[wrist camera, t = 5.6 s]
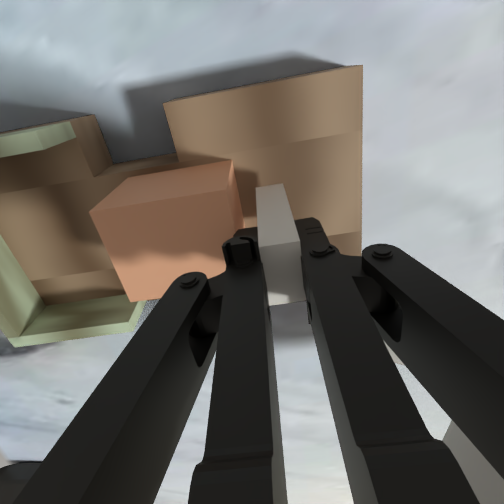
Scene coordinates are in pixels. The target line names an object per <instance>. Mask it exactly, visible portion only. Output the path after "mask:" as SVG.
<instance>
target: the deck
mask: <svg viewBox="0 0 504 504" xmlns="http://www.w3.org/2000/svg"><path fill="white" fill-rule="evenodd" d="M163 107H164V110H165V114H166V117H167V121H168V124H169V128H170V132H171V135H172V139H173V142H174V146H175V149H176V153H172V154H166V155H160V156H155V157H149V158H144V159H138V160H132V161H127V162H121V163H116V164H113V161H112V158H111V156H110V153H109V151H108V148H107V146H106V143H105V140H104V138H103V135H102V133H101V130H100V128H99V125H98V122H97V120H96V117H95V115H88V116H83V117H78V118H73V119H68V120H62V121H57V122H52V123H47V124H42V125H36V126H31V127H26V128H21V129H16V130H10V131H5V132H0V329H1V330H2V332H3V333H4V334H5V336H6V337H7V338H8V340H9V341H10V342H11V343H12V345H13V346H14V347H21V346H28V345H36V344H43V343H50V342H58V341H65V340H73V339H80V338H88V337H95V336H102V335H110V334H117V333H125V332H132V331H134V328H135V326H136V324H137V322H138V319H139V317H140V315H141V313H142V310H143V308H144V306H145V304H146V302H147V301H149V300H144V301H136V302H130V300H129V298H128V296H127V294H126V292H125V290H124V287H123V285H122V283H121V281H120V279H119V276H118V274H117V272H116V270H115V268H114V266H113V263H112V261H111V259H110V257H109V255H108V253H107V250H106V248H105V246H104V244H103V242H102V240H101V237H100V235H99V233H98V231H97V229H96V227H95V224H94V222H93V220H92V218H91V216H90V214H89V211H90V210H91V209H93V208H94V207H95V206H96V205H97V204H98V203H99V202H101V201H102V200H103V199H104V198H105V197H106V196H107V195H109V194H110V193H111V192H112V191H113V190H114V189H115V188H117V187H118V186H119V185H120V184H121V183H122V182H123V181H124V180H126V179H127V178H128V177H134V176H139V175H145V174H151V173H157V172H163V171H169V170H175V169H180V168H186V167H192V166H198V165H204V164H210V163H216V162H221V161H227V160H232V162H233V167H234V172H235V178H236V183H237V188H238V193H239V198H240V203H241V208H242V213H243V219H244V224H245V228H250V227H257V207H256V188H257V187H263V186H269V185H276V184H282V183H283V185H284V189H285V192H286V195H287V199H288V202H289V206H290V209H291V212H292V216H293V219H294V220H297V219H303V218H310V217H314V218H315V219H317V220H319V221H320V223H321V225H322V227H323V229H324V232H325V234H326V236H327V238H328V240H329V242H330V244H332V245H334V246H336V247H337V248H338V250H339V252H340V254H344V255H349V256H361V243H362V110H363V65H353V66H343V67H338V68H333V69H327V70H322V71H317V72H312V73H307V74H301V75H296V76H291V77H286V78H281V79H275V80H270V81H265V82H260V83H255V84H249V85H244V86H239V87H234V88H229V89H223V90H218V91H213V92H208V93H203V94H197V95H192V96H187V97H182V98H177V99H173V100H170V101H168V102H165V103H163ZM158 299H161V298H158ZM151 300H156V299H151Z"/></svg>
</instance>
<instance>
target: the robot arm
mask: <svg viewBox="0 0 504 504" xmlns="http://www.w3.org/2000/svg"><path fill="white" fill-rule="evenodd" d="M256 207H257V227H250V228H244V229H238V230H237V231H236V233H235V234H234V235H233V238H231V239H228V240H227V241H225V242H224V243H223V245H222V251H223V255H224V259H225V263H226V271H225V272H223V273H221V274H219V275H217V276H215V277H212V278H209V279H207V276H206V274H204V273H202V272H188V273H185V274H183V275H181V276H179V277H178V278H176V279H175V280H174V281H173V282H172V284H171V285H170V286H169V288H168V289H167V291H166V292H165V293H164V295H163V296H162V297H161V299H160V300H159V302H158V303H157V304H156V306H155V307H154V308H153V310H152V311H151V313H150V314H149V315H148V317H147V318H146V320H145V321H144V322H143V324H142V325H141V326H140V328H139V329H138V331H137V332H136V333H135V335H134V336H133V337H132V339H131V340H130V342H129V343H128V344H127V346H126V347H125V349H124V350H123V351H122V353H121V354H120V355H119V357H118V358H117V360H116V361H115V362H114V364H113V365H112V366H111V368H110V369H109V371H108V372H107V373H106V375H105V376H104V378H103V379H102V380H101V382H100V383H99V384H98V386H97V387H96V389H95V390H94V391H93V393H92V394H91V395H90V397H89V398H88V400H87V401H86V402H85V404H84V405H83V407H82V408H81V409H80V411H79V412H78V413H77V415H76V416H75V418H74V419H73V420H72V422H71V423H70V424H69V426H68V427H67V429H66V430H65V431H64V433H63V434H62V436H61V437H60V438H59V440H58V441H57V442H56V444H55V445H54V447H53V448H52V449H51V451H50V452H49V453H48V455H47V456H46V458H45V459H44V460H43V462H42V463H19V464H13V465H8V466H5V467H2V468H0V504H153V503H154V500H155V498H156V496H157V493H158V491H159V488H160V486H161V483H162V481H163V479H164V476H165V474H166V471H167V469H168V466H169V464H170V461H171V459H172V457H173V454H174V452H175V449H176V447H177V444H178V442H179V440H180V437H181V435H182V432H183V430H184V427H185V425H186V422H187V420H188V418H189V415H190V413H191V410H192V408H193V405H194V403H195V401H196V398H197V396H198V393H199V391H200V388H201V386H202V383H203V381H204V379H205V376H206V374H207V371H208V369H209V366H210V364H211V362H212V359H213V357H214V354H215V352H216V358H215V367H214V375H213V384H212V392H211V401H210V410H209V418H208V427H207V436H206V444H205V452H204V457H203V460H202V462H200V463H199V464H197V465H196V467H195V469H194V472H193V475H192V480H191V485H190V492H189V499H188V504H288V502H287V490H286V479H285V468H284V457H283V446H282V435H281V424H280V413H279V402H278V391H277V380H276V368H275V357H274V346H273V335H272V324H271V314H270V308H269V306H271V305H279V304H286V303H293V302H301V301H306V300H307V310H308V320H309V324H311V326H312V330H313V335H314V339H315V343H316V347H317V351H318V355H319V360H320V364H321V368H322V372H323V376H324V380H325V384H326V389H327V393H328V397H329V401H330V405H331V409H332V414H333V418H334V422H335V426H336V430H337V434H338V439H339V443H340V447H341V451H342V455H343V459H344V464H345V468H346V472H347V476H348V480H349V484H350V489H351V493H352V497H353V501H354V504H480V503H479V501H478V499H477V497H476V495H475V493H474V491H473V490H472V488H471V486H470V484H469V482H468V480H467V478H466V476H465V474H464V473H463V471H462V469H461V467H460V465H459V463H458V461H457V460H456V458H455V457H454V455H453V453H452V452H451V450H450V448H449V447H448V446H447V445H446V444H445V443H444V442H443V441H441V440H437V439H434V438H433V437H432V436H431V435H430V433H429V431H428V430H427V428H426V426H425V424H424V422H423V420H422V418H421V416H420V414H419V412H418V410H417V408H416V406H415V404H414V402H413V400H412V398H411V396H410V394H409V392H408V390H407V387H406V385H405V383H404V381H403V379H402V377H401V375H400V373H399V371H398V369H397V367H396V365H395V363H394V361H393V359H392V357H391V355H390V353H389V351H388V349H387V347H386V345H385V343H386V344H387V345H388V346H389V347H390V349H391V350H392V351H393V352H394V353H395V354H396V356H397V357H398V358H399V359H400V360H401V361H402V362H403V364H404V365H405V366H406V367H407V368H408V369H409V371H410V372H411V373H412V374H413V375H414V376H415V378H416V379H417V380H418V381H419V382H420V383H421V384H422V386H423V387H424V388H425V389H426V390H427V391H428V393H429V394H430V395H431V396H432V397H433V398H434V400H435V401H436V402H437V403H438V404H439V405H440V406H441V408H442V409H443V410H444V411H445V412H446V413H447V415H448V416H449V417H450V418H451V419H452V420H453V422H454V423H455V424H456V425H457V426H458V427H459V428H460V430H461V431H462V432H463V433H464V434H465V435H466V437H467V438H468V439H469V440H470V441H471V442H472V444H473V445H474V446H475V447H476V448H477V449H478V450H479V452H480V453H481V454H482V455H483V456H484V457H485V459H486V460H487V461H488V462H489V463H490V464H491V466H492V467H493V468H494V469H495V470H496V471H497V472H498V474H499V475H500V476H501V477H502V478H503V479H504V320H503V319H501V318H500V317H498V316H497V315H495V314H494V313H492V312H491V311H490V310H488V309H487V308H485V307H484V306H482V305H481V304H479V303H478V302H476V301H475V300H474V299H472V298H471V297H469V296H468V295H466V294H465V293H463V292H462V291H460V290H459V289H458V288H456V287H455V286H453V285H452V284H450V283H449V282H447V281H446V280H444V279H443V278H442V277H440V276H439V275H437V274H436V273H434V272H433V271H431V270H430V269H428V268H427V267H426V266H424V265H423V264H421V263H420V262H418V261H417V260H415V259H414V258H412V257H411V256H410V255H408V254H407V253H405V252H404V251H402V250H401V249H399V248H397V247H395V246H392V245H388V244H375V245H370V246H368V247H366V248H365V249H364V250H363V251H362V256H349V255H344V254H340V252H339V250H338V248H337V247H336V246H334V245H332V244H330V242H329V240H328V238H327V236H326V234H325V232H324V229H323V227H322V225H321V223H320V221H319V220H317V219H315V218H314V217H310V218H303V219H297V220H294V219H293V216H292V212H291V209H290V206H289V202H288V199H287V195H286V192H285V189H284V185H283V183H282V184H276V185H269V186H263V187H257V188H256ZM383 340H384V341H383ZM384 342H385V343H384Z"/></svg>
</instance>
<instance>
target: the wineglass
mask: <svg viewBox="0 0 504 504" xmlns="http://www.w3.org/2000/svg"><path fill="white" fill-rule="evenodd" d="M383 341H384V340H383ZM384 343H385V342H384ZM385 345H386V347H387V349H388V351H389V353H390V355H391V357H392V359H393V361H394V363H397V364H401V365H404V364H403V362H402V361H401V360H400V359H399V358H398V357H397V356H396V354H395V353H394V352H393V351H392V350H391V349H390V347H389V346H388V345H387V344H386V343H385ZM442 441H443V442H444V443H445V444H446V445H447V446H448V447H449V448H450V450H451V452H452V453H453V455H454V457H455V458H456V460H457V461H458V463H459V465H460V467H461V469H462V471H463V473H464V474H465V476H466V478H467V480H468V482H469V484H470V486H471V488H472V490H473V491H474V493H475V495H476V497H477V499H478V501H479V503H480V504H504V479H503V478H502V477H501V476H500V475H499V474H498V472H497V471H496V470H495V469H494V468H493V467H492V466H491V464H490V463H489V462H488V461H487V460H486V459H485V457H484V456H483V455H482V454H481V453H480V452H479V450H478V449H477V448H476V447H475V446H474V445H473V444H472V442H471V441H470V440H469V439H468V438H467V437H466V435H465V434H464V433H463V432H462V431H461V430H460V428H459V427H458V426H457V425H456V424H455V423H454V422H453V420H452V421H451V423H450V425H449V427H448V429H447V432H446V434H445V436H444V438H443V440H442Z"/></svg>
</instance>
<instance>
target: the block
mask: <svg viewBox="0 0 504 504" xmlns="http://www.w3.org/2000/svg"><path fill="white" fill-rule="evenodd" d="M89 214H90V216H91V218H92V220H93V222H94V224H95V227H96V229H97V231H98V233H99V235H100V237H101V240H102V242H103V244H104V246H105V248H106V250H107V253H108V255H109V257H110V259H111V261H112V263H113V266H114V268H115V270H116V272H117V274H118V276H119V279H120V281H121V283H122V285H123V287H124V290H125V292H126V294H127V296H128V298H129V300H130V302H136V301H144V300H151V299H158V298H161V297H162V296H163V295H164V293H165V292H166V291H167V289H168V288H169V286H170V285H171V284H172V282H173V281H174V280H175V279H176V278H178V277H179V276H181V275H183V274H185V273H188V272H202V273H204V274H206V276H207V279H209V278H212V277H215V276H217V275H219V274H221V273H223V272H225V271H226V263H225V259H224V255H223V251H222V245H223V243H224V242H225V241H227V240H228V239H231V238H233V235H234V234H235V233H236V231H237V230H238V229H244V228H245V224H244V219H243V213H242V208H241V203H240V198H239V193H238V188H237V183H236V178H235V172H234V167H233V162H232V160H227V161H221V162H216V163H210V164H204V165H198V166H192V167H186V168H180V169H175V170H169V171H163V172H157V173H151V174H145V175H139V176H134V177H128V178H127V179H126V180H124V181H123V182H122V183H121V184H120V185H119V186H118V187H117V188H115V189H114V190H113V191H112V192H111V193H110V194H109V195H107V196H106V197H105V198H104V199H103V200H102V201H101V202H99V203H98V204H97V205H96V206H95V207H94V208H93V209H91V210H90V211H89Z"/></svg>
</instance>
